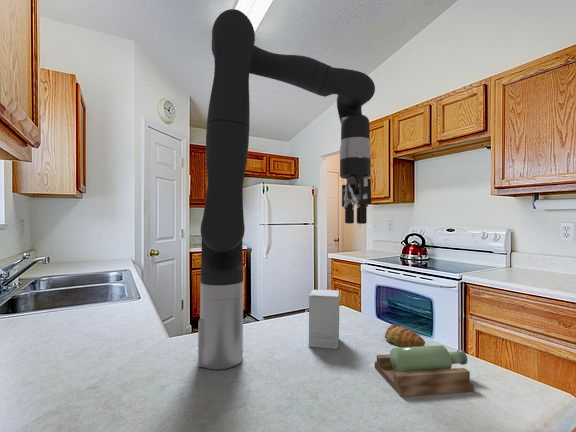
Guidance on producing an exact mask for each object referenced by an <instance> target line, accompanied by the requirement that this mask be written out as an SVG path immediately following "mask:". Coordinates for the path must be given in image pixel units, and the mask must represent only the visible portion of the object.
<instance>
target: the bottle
mask: <svg viewBox="0 0 576 432" xmlns="http://www.w3.org/2000/svg"><path fill="white" fill-rule="evenodd" d="M389 353H390V361H391V366H392V368H393V371H394V372H409V371H424V370H439V369H452V367H453V365H459V364H460V365H463V366H464V365H467V364H468V355H467V354H466V351H465V350H463V349H458V350H456V351H449V350H448V349H447V348H446V347H445V346H444V345H442V344H441V345H438V344H437V345H424V346H420V347H392V348H391V350H390V352H389Z"/></svg>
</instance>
